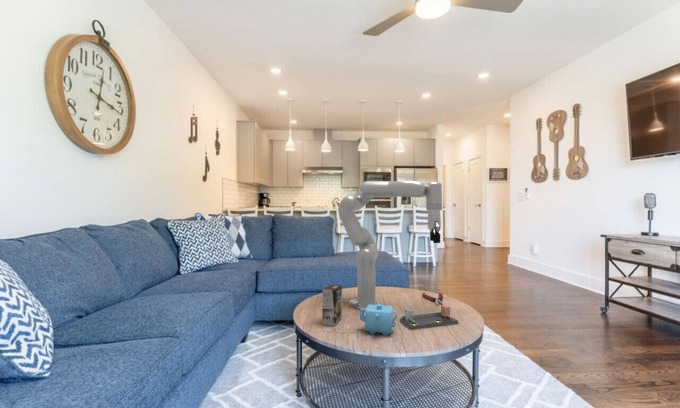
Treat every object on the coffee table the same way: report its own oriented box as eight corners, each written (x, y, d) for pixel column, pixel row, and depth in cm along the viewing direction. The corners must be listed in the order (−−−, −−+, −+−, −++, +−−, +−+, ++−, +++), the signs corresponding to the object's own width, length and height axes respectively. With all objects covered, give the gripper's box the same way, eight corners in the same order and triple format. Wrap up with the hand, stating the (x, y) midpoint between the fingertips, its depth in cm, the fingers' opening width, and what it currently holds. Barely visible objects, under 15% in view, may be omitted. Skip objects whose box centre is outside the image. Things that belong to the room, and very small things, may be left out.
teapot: (398, 325, 139) (398, 300, 139) (396, 342, 121) (396, 313, 121) (363, 322, 142) (363, 297, 142) (356, 338, 125) (356, 310, 125)
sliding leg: (448, 319, 141) (448, 309, 141) (440, 314, 147) (440, 305, 147) (454, 318, 142) (454, 308, 142) (446, 314, 148) (446, 304, 148)
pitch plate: (410, 329, 134) (410, 315, 134) (399, 321, 143) (399, 307, 143) (458, 323, 140) (458, 309, 141) (444, 316, 150) (444, 303, 150)
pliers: (430, 307, 164) (430, 302, 164) (421, 296, 185) (421, 292, 185) (452, 308, 164) (452, 303, 164) (441, 296, 184) (441, 292, 184)
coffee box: (335, 326, 137) (335, 290, 137) (321, 324, 139) (321, 288, 139) (342, 319, 146) (342, 285, 146) (329, 317, 148) (329, 283, 148)
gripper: (423, 207, 163) (424, 240, 163) (429, 207, 146) (430, 244, 145) (438, 207, 162) (439, 239, 162) (445, 207, 145) (446, 243, 144)
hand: (435, 241), depth 154 cm, fingers open, 9 cm apart
